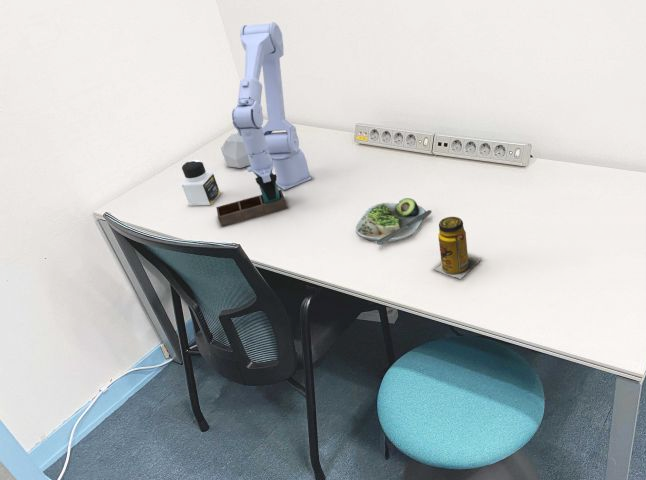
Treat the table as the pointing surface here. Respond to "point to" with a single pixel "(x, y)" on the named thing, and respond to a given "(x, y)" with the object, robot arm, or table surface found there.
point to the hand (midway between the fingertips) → (270, 194)
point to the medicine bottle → (199, 184)
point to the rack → (248, 209)
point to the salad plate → (391, 221)
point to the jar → (265, 195)
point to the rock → (235, 151)
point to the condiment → (454, 248)
